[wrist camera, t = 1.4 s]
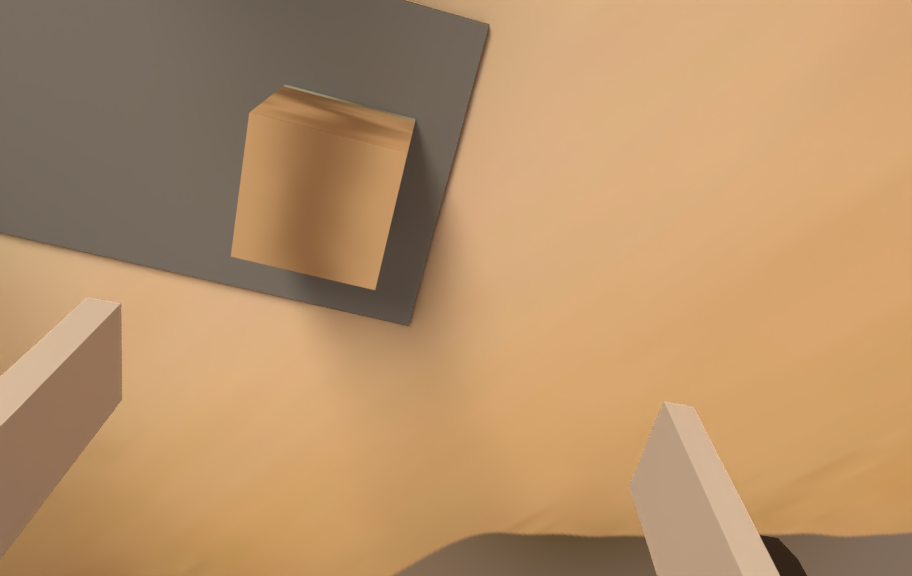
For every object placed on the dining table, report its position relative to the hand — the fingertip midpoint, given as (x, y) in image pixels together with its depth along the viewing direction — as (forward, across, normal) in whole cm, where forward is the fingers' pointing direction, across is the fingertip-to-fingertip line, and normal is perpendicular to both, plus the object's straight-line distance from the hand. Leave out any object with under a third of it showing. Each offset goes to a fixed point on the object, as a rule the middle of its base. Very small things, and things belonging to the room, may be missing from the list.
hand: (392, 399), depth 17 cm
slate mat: (+23, -12, -1) cm, 26 cm away
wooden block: (+23, -5, -2) cm, 24 cm away
